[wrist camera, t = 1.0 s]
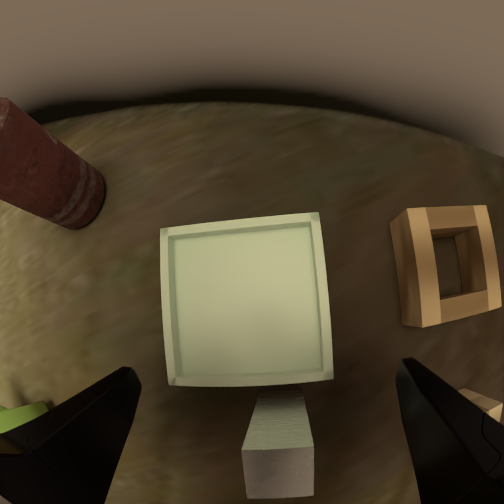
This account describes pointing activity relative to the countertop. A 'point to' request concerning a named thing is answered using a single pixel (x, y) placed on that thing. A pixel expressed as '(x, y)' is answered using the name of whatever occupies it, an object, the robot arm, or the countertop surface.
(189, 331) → the tray
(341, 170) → the countertop surface
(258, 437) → the grey wood bar
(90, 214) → the can
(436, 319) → the oak block
